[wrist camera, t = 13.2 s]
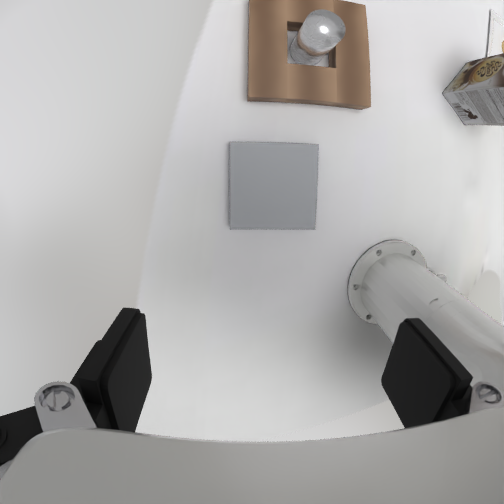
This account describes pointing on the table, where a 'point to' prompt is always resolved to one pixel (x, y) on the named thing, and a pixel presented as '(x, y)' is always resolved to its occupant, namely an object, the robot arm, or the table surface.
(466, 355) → the robot arm
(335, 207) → the table surface
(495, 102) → the coffee box
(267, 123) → the table surface
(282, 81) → the hole board
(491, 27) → the dessert
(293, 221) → the pad
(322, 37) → the peg
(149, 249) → the table surface
